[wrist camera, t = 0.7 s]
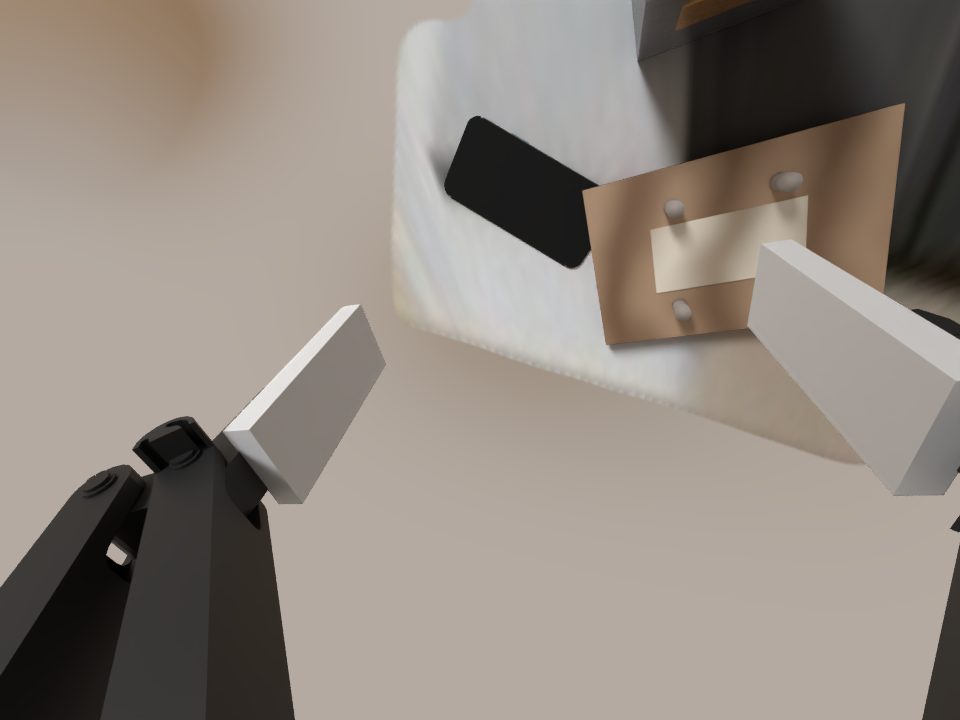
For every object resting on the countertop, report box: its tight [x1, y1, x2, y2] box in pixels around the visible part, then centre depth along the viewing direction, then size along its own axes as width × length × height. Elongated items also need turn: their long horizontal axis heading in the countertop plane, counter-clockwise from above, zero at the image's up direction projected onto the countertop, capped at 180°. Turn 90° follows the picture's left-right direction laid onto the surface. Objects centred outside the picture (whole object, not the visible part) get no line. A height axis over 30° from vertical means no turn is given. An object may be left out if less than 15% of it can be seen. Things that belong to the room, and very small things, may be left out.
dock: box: [582, 103, 905, 345], centre depth 30 cm, size 20×14×4 cm
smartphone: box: [444, 116, 599, 268], centre depth 35 cm, size 7×1×15 cm
